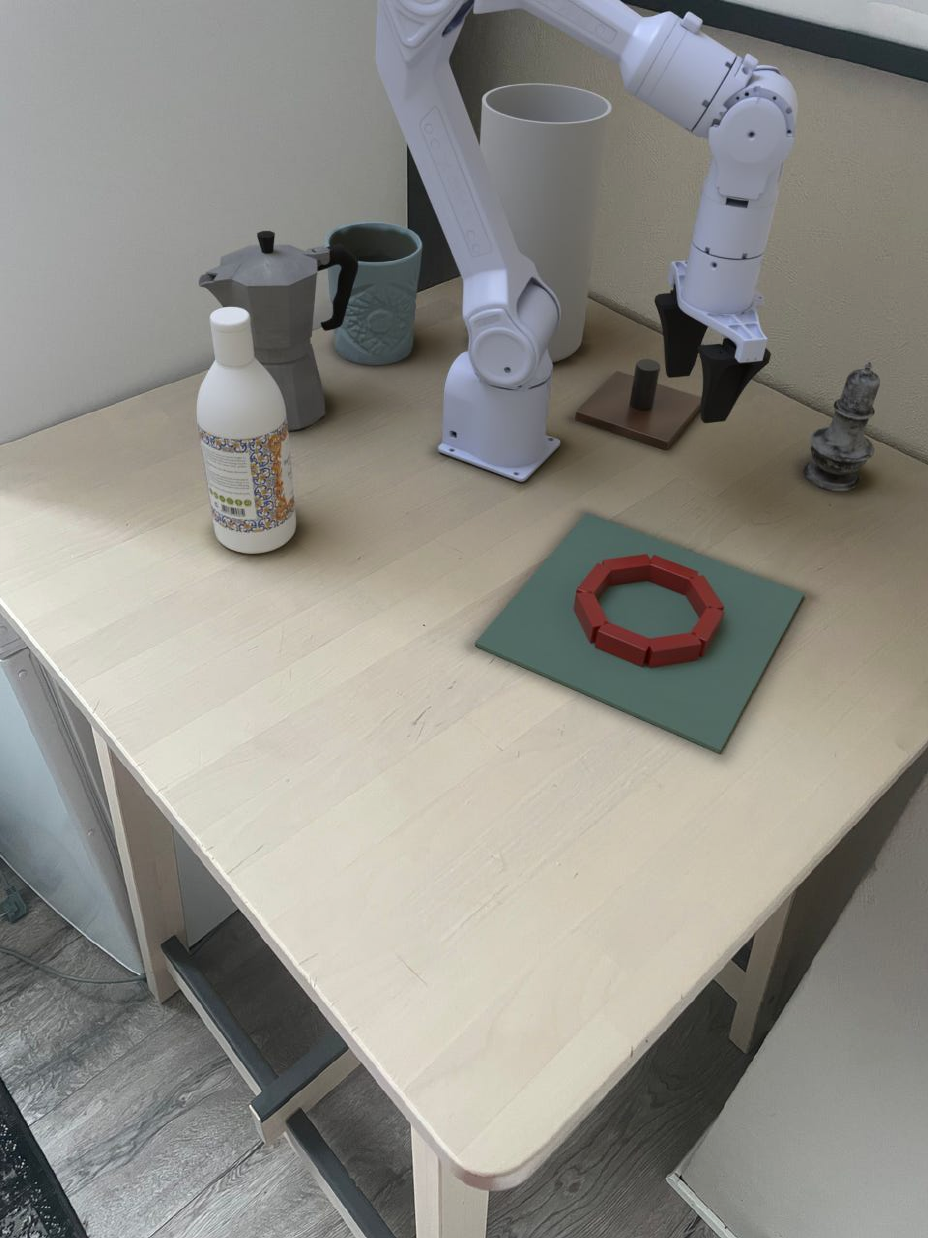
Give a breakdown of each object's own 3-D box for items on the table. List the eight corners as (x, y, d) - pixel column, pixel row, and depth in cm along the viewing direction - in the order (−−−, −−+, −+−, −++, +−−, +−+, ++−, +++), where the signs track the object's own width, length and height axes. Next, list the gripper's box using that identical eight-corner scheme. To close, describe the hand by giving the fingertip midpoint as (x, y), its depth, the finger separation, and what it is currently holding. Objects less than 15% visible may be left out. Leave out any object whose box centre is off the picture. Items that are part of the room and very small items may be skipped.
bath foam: (293, 557, 86) (272, 338, 73) (209, 556, 86) (173, 336, 72) (300, 507, 91) (281, 294, 78) (221, 506, 91) (189, 292, 77)
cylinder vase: (495, 306, 122) (510, 76, 105) (595, 329, 119) (627, 95, 102) (453, 351, 113) (461, 109, 97) (559, 378, 110) (588, 131, 93)
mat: (474, 646, 79) (474, 642, 79) (586, 515, 92) (586, 512, 92) (719, 754, 72) (720, 750, 72) (803, 596, 85) (804, 592, 85)
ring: (554, 630, 80) (556, 613, 79) (612, 556, 88) (615, 539, 86) (685, 685, 77) (689, 668, 75) (735, 603, 84) (740, 586, 82)
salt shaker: (865, 497, 96) (908, 383, 88) (801, 488, 97) (837, 373, 89) (860, 463, 100) (900, 351, 92) (799, 454, 101) (833, 342, 93)
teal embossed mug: (364, 317, 119) (361, 213, 110) (438, 341, 115) (441, 235, 107) (311, 352, 112) (303, 245, 104) (388, 379, 108) (387, 270, 100)
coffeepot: (236, 448, 98) (212, 265, 86) (203, 401, 104) (176, 224, 92) (381, 410, 104) (378, 234, 92) (342, 368, 110) (334, 198, 98)
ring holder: (574, 419, 104) (581, 371, 100) (615, 378, 111) (622, 331, 107) (666, 450, 101) (676, 401, 97) (702, 406, 107) (713, 358, 103)
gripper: (819, 280, 76) (774, 436, 86) (734, 206, 87) (702, 353, 96) (732, 287, 75) (696, 445, 84) (657, 211, 85) (632, 359, 94)
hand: (694, 397), depth 90 cm, fingers open, 7 cm apart
